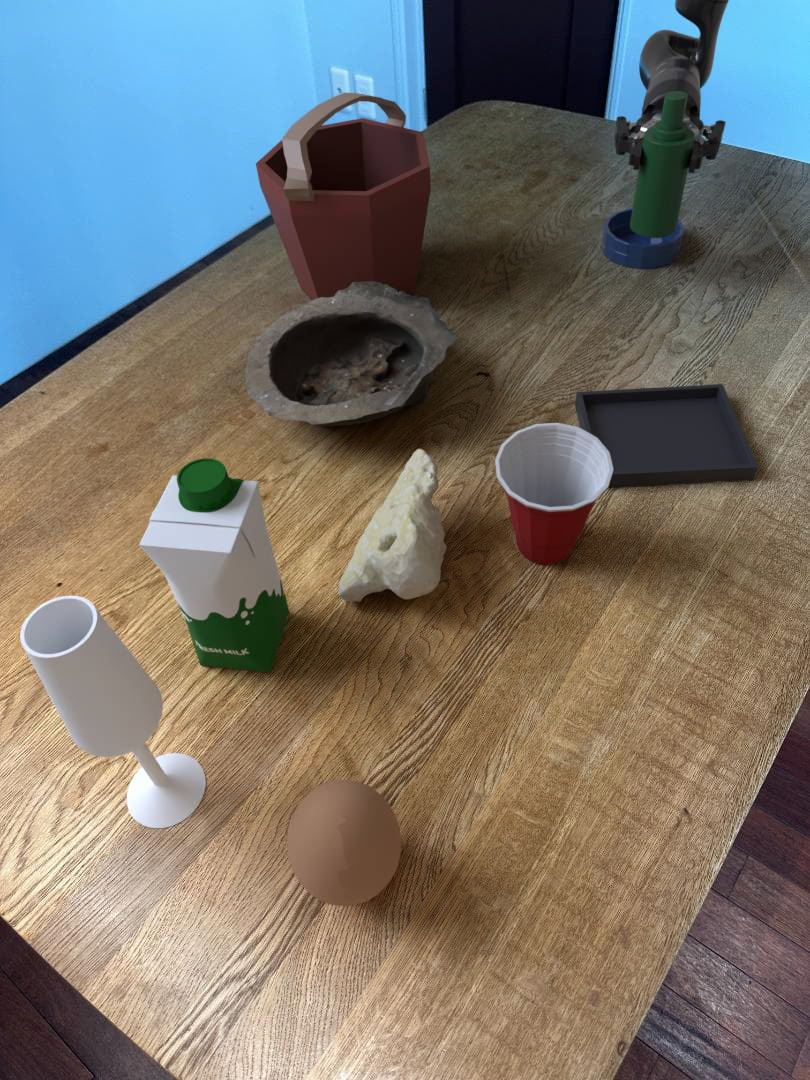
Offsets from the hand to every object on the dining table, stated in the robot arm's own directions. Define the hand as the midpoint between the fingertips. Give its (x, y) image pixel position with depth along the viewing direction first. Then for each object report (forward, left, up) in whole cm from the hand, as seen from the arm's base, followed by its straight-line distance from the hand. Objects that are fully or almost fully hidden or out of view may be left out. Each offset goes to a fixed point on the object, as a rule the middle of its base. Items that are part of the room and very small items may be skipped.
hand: (665, 163), depth 100 cm
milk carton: (+49, +56, -18) cm, 76 cm away
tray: (+4, +31, -18) cm, 36 cm away
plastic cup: (+19, +46, -18) cm, 53 cm away
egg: (+38, +78, -18) cm, 88 cm away
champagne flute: (+54, +71, -18) cm, 91 cm away
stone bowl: (+40, +20, -18) cm, 48 cm away
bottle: (-1, -2, -9) cm, 10 cm away
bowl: (-2, -10, -18) cm, 21 cm away
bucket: (+40, -6, -18) cm, 44 cm away
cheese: (+34, +46, -18) cm, 60 cm away
